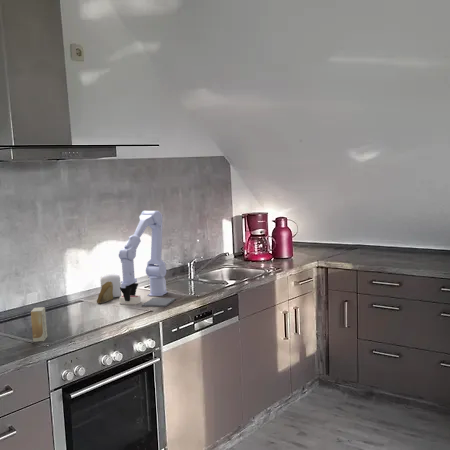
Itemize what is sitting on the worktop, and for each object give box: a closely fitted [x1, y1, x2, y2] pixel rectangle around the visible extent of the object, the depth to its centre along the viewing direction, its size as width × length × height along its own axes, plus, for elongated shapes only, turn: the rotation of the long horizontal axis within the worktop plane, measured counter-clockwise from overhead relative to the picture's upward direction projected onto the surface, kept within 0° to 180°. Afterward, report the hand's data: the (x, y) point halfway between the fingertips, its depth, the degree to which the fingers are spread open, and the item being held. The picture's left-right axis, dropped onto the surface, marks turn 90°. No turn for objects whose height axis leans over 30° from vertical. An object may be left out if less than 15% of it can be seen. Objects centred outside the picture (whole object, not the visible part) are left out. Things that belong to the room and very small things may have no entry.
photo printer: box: [99, 273, 123, 299], centre depth 294 cm, size 10×4×12 cm, turn 113°
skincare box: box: [30, 306, 48, 343], centre depth 223 cm, size 6×4×12 cm
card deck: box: [118, 294, 142, 305], centre depth 280 cm, size 5×9×4 cm, turn 72°
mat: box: [141, 297, 176, 308], centre depth 276 cm, size 14×12×1 cm
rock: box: [96, 281, 114, 304], centre depth 286 cm, size 11×9×10 cm
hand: (130, 299), depth 280 cm, fingers open, 6 cm apart
